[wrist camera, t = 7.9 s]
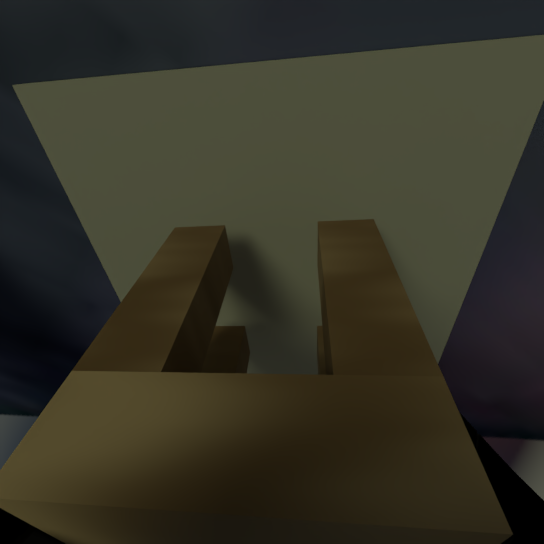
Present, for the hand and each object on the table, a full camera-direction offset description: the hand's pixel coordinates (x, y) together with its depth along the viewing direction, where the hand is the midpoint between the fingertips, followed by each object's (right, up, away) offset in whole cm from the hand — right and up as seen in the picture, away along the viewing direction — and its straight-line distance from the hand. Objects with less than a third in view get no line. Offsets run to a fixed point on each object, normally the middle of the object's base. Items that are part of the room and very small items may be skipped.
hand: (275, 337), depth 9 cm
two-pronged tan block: (0, +1, +1) cm, 2 cm away
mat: (0, +2, +3) cm, 4 cm away
